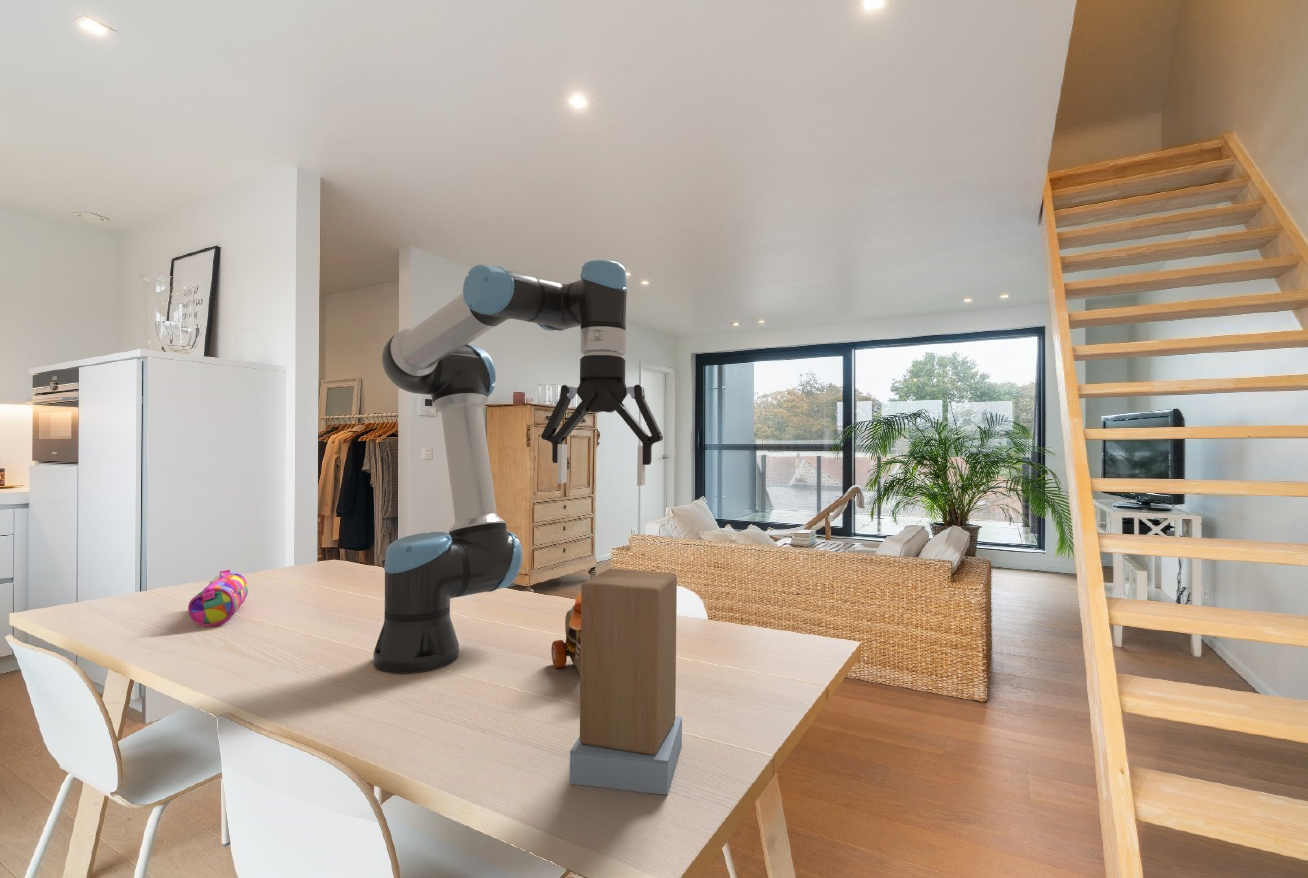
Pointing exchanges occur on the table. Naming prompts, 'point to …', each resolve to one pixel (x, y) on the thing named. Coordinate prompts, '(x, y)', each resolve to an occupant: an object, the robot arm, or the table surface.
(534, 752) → the table surface
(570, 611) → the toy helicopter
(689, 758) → the table surface
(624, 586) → the wooden block
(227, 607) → the pencil case
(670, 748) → the base brick
